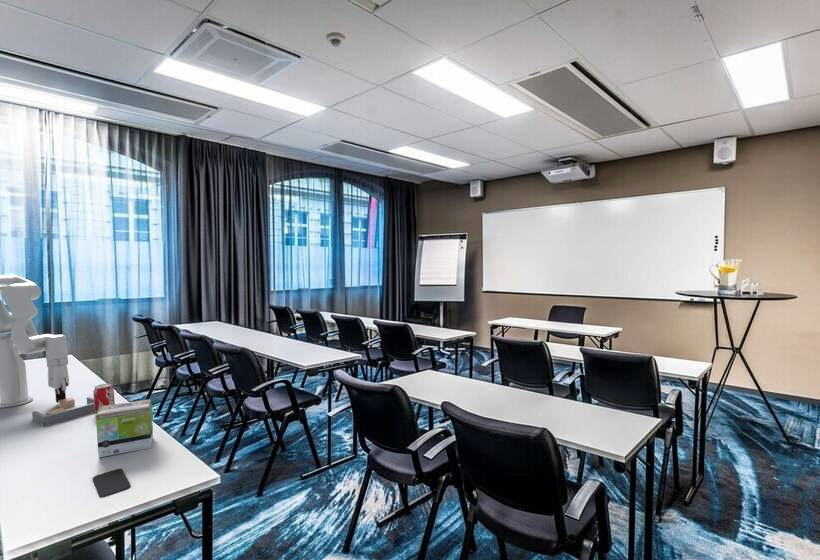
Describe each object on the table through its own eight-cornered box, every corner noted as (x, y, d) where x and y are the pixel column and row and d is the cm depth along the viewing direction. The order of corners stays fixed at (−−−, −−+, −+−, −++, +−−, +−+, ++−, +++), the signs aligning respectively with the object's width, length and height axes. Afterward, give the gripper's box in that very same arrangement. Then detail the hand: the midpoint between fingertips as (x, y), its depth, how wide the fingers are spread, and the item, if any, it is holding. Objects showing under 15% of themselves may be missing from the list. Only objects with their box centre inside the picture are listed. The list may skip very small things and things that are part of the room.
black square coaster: (99, 497, 115) (91, 476, 126) (99, 500, 115) (92, 479, 126) (131, 486, 120) (121, 467, 131) (131, 489, 120) (121, 470, 131)
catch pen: (32, 420, 175) (31, 411, 174) (90, 404, 192) (89, 396, 192) (45, 425, 168) (44, 417, 168) (103, 409, 185) (102, 401, 185)
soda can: (104, 417, 176) (102, 388, 175) (90, 416, 177) (88, 388, 176) (119, 410, 183) (117, 383, 182) (105, 410, 184) (103, 382, 183)
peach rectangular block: (58, 407, 190) (58, 400, 190) (72, 403, 194) (72, 397, 194) (60, 409, 187) (60, 402, 187) (74, 406, 191) (74, 399, 191)
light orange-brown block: (46, 419, 176) (46, 412, 176) (61, 415, 180) (60, 408, 180) (52, 421, 173) (52, 414, 173) (67, 416, 178) (66, 409, 178)
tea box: (98, 459, 138) (94, 415, 137) (103, 447, 147) (100, 405, 146) (151, 448, 145) (148, 406, 144) (154, 437, 154) (151, 397, 153)
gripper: (40, 362, 193) (44, 401, 194) (54, 365, 186) (57, 407, 187) (60, 358, 200) (64, 396, 201) (74, 361, 192) (78, 401, 193)
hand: (61, 401), depth 194 cm, fingers closed
